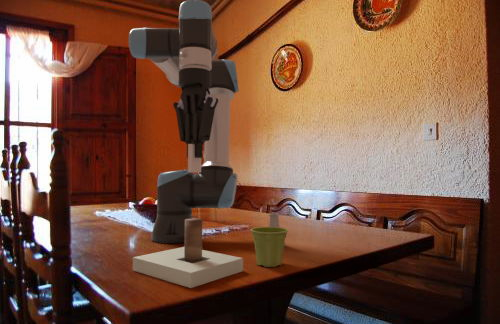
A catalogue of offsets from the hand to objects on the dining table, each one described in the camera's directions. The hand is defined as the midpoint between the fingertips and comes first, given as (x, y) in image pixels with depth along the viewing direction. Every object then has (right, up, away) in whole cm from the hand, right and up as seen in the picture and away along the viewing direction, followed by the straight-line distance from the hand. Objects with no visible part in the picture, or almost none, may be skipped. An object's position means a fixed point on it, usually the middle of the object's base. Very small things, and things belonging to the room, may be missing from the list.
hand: (194, 172), depth 84 cm
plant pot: (+18, -23, +7) cm, 30 cm away
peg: (0, -23, -1) cm, 23 cm away
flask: (+20, -24, +29) cm, 43 cm away
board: (-2, -23, 0) cm, 23 cm away
